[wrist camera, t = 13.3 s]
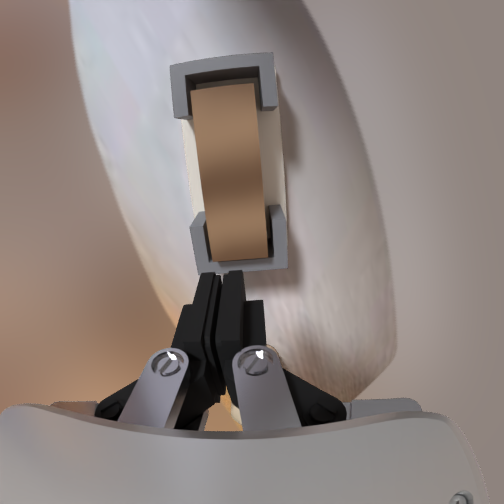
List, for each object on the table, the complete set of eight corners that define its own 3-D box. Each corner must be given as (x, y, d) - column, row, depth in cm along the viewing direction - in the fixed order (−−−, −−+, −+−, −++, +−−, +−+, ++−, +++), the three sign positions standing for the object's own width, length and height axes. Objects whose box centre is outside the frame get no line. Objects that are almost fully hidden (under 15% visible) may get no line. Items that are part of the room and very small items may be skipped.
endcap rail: (180, 79, 19) (162, 67, 15) (274, 68, 19) (280, 52, 14) (202, 249, 26) (192, 275, 21) (286, 242, 26) (294, 267, 21)
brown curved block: (203, 99, 19) (190, 90, 15) (252, 93, 19) (253, 83, 15) (219, 236, 24) (212, 261, 20) (264, 232, 24) (268, 257, 20)
